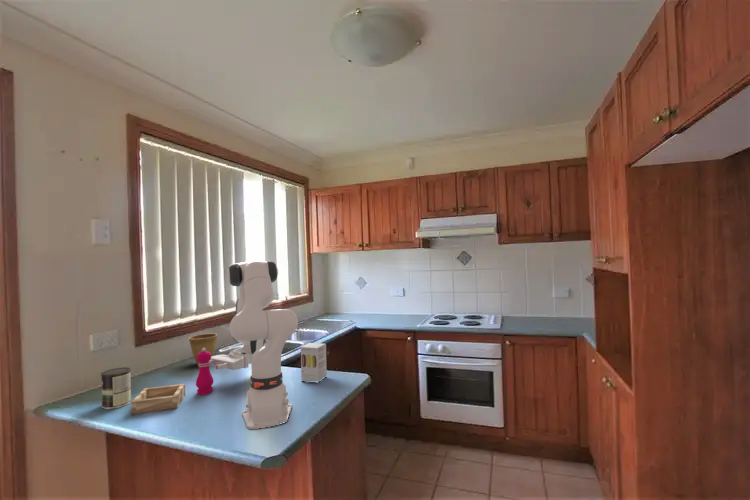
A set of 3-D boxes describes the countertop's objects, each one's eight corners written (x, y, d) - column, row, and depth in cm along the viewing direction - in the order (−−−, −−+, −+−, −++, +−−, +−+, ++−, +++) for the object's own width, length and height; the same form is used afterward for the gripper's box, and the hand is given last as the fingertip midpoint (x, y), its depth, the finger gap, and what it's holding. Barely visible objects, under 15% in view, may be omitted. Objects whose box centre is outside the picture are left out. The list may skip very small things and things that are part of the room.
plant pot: (221, 359, 221) (220, 332, 221) (212, 366, 206) (211, 338, 207) (196, 360, 220) (195, 333, 220) (185, 368, 205) (184, 339, 206)
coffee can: (97, 411, 148) (97, 376, 149) (106, 402, 158) (105, 369, 158) (127, 406, 152) (127, 372, 152) (134, 398, 162) (133, 365, 162)
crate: (177, 408, 148) (176, 396, 148) (131, 414, 143) (131, 402, 144) (185, 394, 163) (185, 383, 163) (144, 400, 159) (144, 388, 159)
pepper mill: (206, 395, 161) (205, 350, 162) (192, 395, 163) (191, 349, 163) (217, 389, 168) (215, 346, 169) (203, 389, 170) (202, 345, 170)
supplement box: (300, 382, 175) (299, 346, 175) (310, 376, 184) (309, 342, 184) (318, 383, 172) (317, 347, 172) (327, 377, 181) (326, 343, 181)
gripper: (223, 350, 186) (197, 356, 174) (250, 354, 175) (224, 362, 163) (224, 362, 186) (198, 370, 174) (250, 368, 174) (224, 376, 163)
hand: (210, 366), depth 168 cm, fingers open, 8 cm apart
